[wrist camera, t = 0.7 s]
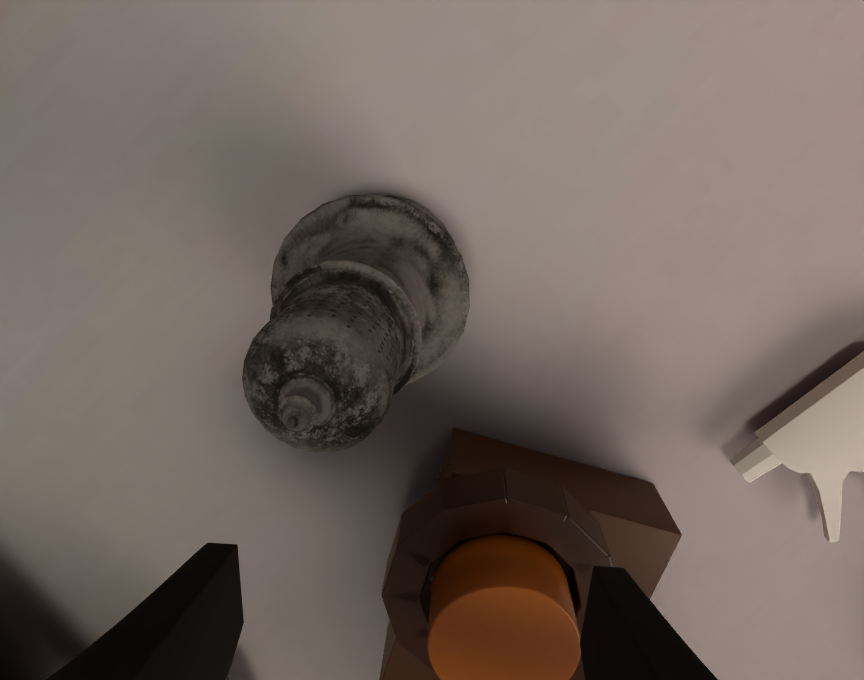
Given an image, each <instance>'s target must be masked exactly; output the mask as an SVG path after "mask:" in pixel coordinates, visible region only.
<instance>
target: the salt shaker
mask: <svg viewBox="0 0 864 680" xmlns="http://www.w3.org/2000/svg"><path fill="white" fill-rule="evenodd" d="M271 294H272V302H273V307H272V309H271V315H270V321H269V322H268V323H267V324H266V325H265V326H264V327H263V328H262V329H261V330H260V331H259V333H258V334H257V335H256V336H255V337H254V338H253V341H252V343H251V345H250V348H249V350H248V352H247V354H246V357H245V360H244V367H243V376H242V381H243V387H244V393H245V397H246V400H247V402H248V404H249V406H250V408H251V411H252V413H253V414H254V416H255V417H256V418H257V419H258V421H259V422H260V423H261V425H262V426H263V427H264V428H265V429H266V430H267V431H269V432H270V433H271V434H272V435H274V436H275V437H276V438H277V439H279V440H280V441H283V442H285V443H287V444H289V445H291V446H293V447H295V448H298V449H302V450H307V451H311V452H334V451H338V450H342V449H346V448H349V447H351V446H353V445H355V444H357V443H358V442H360V441H362V440H364V439H365V438H366V437H367V436H368V435H369V434H370V433H371V432H372V431H373V430H374V429H375V428H376V427H377V426H378V425H379V424H380V423H381V421H382V419H383V417H384V415H385V413H386V411H387V410H388V408H389V405H390V401H391V397H392V396H393V395H394V394H396V393H397V392H398V391H399V390H400V389H401V388H402V387H403V386H404V385H405V384H408V383H412V382H414V381H416V380H418V379H419V378H421V377H423V376H425V375H426V374H428V373H430V372H432V371H433V370H435V369H436V368H437V367H438V366H439V365H440V364H441V363H442V362H443V361H444V360H445V359H446V358H447V357H448V356H449V355H450V354H451V352H452V351H453V349H454V347H455V345H456V344H457V342H458V340H459V338H460V336H461V335H462V333H463V331H464V327H465V323H466V319H467V315H468V311H469V307H470V304H469V279H468V276H467V272H466V269H465V266H464V262H463V259H462V256H461V254H460V252H459V251H458V249H457V247H456V246H455V244H454V241H453V239H452V237H451V236H450V234H449V233H448V231H447V229H446V228H445V226H444V225H443V223H442V222H441V221H439V220H438V219H437V218H436V217H435V216H434V215H433V214H432V213H431V212H430V211H429V210H428V209H426V208H424V207H422V206H420V205H418V204H416V203H414V202H413V201H411V200H408V199H403V198H399V197H395V196H390V195H386V196H381V195H376V194H375V195H350V196H346V197H343V198H340V199H337V200H334V201H331V202H328V203H325V204H322V205H321V206H319V207H318V208H316V209H315V210H313V211H312V212H310V213H309V214H307V215H306V216H304V217H303V218H302V219H300V221H299V222H298V223H297V224H296V225H295V227H294V228H293V229H292V230H291V231H290V233H289V234H288V235H287V236H286V237H285V239H284V241H283V243H282V245H281V248H280V250H279V252H278V254H277V257H276V259H275V261H274V267H273V274H272V281H271Z"/></svg>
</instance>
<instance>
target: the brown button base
mask: <svg viewBox="0 0 864 680" xmlns="http://www.w3.org/2000/svg"><path fill="white" fill-rule="evenodd" d="M487 535H512V536H517V537H521V538H524V539H527V540H530V541H532V542H534V543H536V544H538V545H540V546H541V547H543V548H544V549H546V550H547V551H548V552H549V553H550V554H552V555H553V557H554V558H555V559H556V560H557V561H558V562H559V564H560V565H561V567H562V569H563V571H564V573H565V575H566V579H567V582H568V586H569V590H570V595H571V599H572V603H573V607H574V612H575V616H576V620H577V624H578V628H579V633H580V637H581V633H582V627H583V621H584V616H585V610H586V605H587V599H588V593H589V588H590V582H591V577H592V571H593V566H605V567H622V568H625V570H626V571H627V572H628V573H629V574H630V576H631V577H632V578H633V579H634V581H635V582H636V583H637V584H638V586H639V587H640V588H641V589H642V591H643V592H644V593H645V594H646V596H647V597H648V598H649V599H650V598H651V596H652V594H653V592H654V590H655V588H656V586H657V584H658V582H659V580H660V578H661V576H662V574H663V572H664V570H665V568H666V566H667V564H668V562H669V560H670V558H671V556H672V554H673V552H674V550H675V548H676V546H677V544H678V542H679V540H680V538H681V536H682V534H681V532H680V531H679V529H678V527H677V525H676V523H675V522H674V520H673V518H672V516H671V515H670V513H669V511H668V509H667V507H666V506H665V504H664V502H663V500H662V498H661V497H660V495H659V493H658V491H657V489H656V488H655V486H654V484H652V483H648V482H645V481H641V480H638V479H634V478H631V477H627V476H624V475H620V474H616V473H613V472H609V471H606V470H602V469H599V468H595V467H592V466H588V465H585V464H581V463H577V462H574V461H570V460H567V459H563V458H560V457H556V456H553V455H549V454H545V453H542V452H538V451H535V450H531V449H528V448H524V447H521V446H517V445H514V444H510V443H506V442H503V441H499V440H496V439H492V438H489V437H485V436H482V435H478V434H474V433H471V432H467V431H464V430H460V429H457V428H454V429H453V431H452V434H451V437H450V440H449V443H448V447H447V450H446V453H445V456H444V459H443V462H442V465H441V468H440V471H439V474H438V477H437V480H436V483H435V486H434V488H433V489H431V490H430V491H429V492H428V493H426V494H425V495H424V496H423V497H422V498H420V499H419V500H418V501H417V502H415V503H414V504H413V505H412V506H411V507H409V508H408V509H407V510H406V511H404V512H403V514H402V516H401V519H400V522H399V525H398V528H397V532H396V535H395V538H394V541H393V544H392V547H391V551H390V554H389V557H388V561H387V567H386V572H385V578H384V583H383V589H382V598H383V601H384V604H385V607H386V610H387V613H388V616H389V619H390V622H389V625H388V628H387V635H386V641H385V648H384V654H383V660H382V667H381V673H380V679H379V680H441V679H440V678H439V677H438V676H437V674H436V672H435V671H434V669H433V667H432V665H431V662H430V660H429V655H428V649H427V640H428V626H429V612H430V598H431V586H432V580H433V576H434V573H435V571H436V569H437V567H438V566H439V564H440V562H441V561H442V560H443V559H444V558H445V556H446V555H447V554H448V553H449V552H451V551H452V550H453V549H454V548H456V547H457V546H459V545H460V544H462V543H464V542H466V541H469V540H471V539H474V538H477V537H482V536H487ZM569 680H585V675H584V669H583V662H582V656H581V655H580V660H579V663H578V665H577V668H576V670H575V672H574V674H573V675H572V677H571V678H570V679H569Z"/></svg>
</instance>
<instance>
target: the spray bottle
mask: <svg viewBox="0 0 864 680" xmlns="http://www.w3.org/2000/svg"><path fill="white" fill-rule="evenodd" d="M754 434H755V435H756V436H757V438H758V439H756V440H755V441H754V442H752V443H751V444H750V445H749V446H747V447H746V448H745V449H743V450H742V451H741V452H739V453H738V454H737V455H735V456H734V457H733V458H731V459H730V460H729V461H730V462H731V463H732V464H733V466H734V467H735V468H736V469H737V470H738V471H739V472H740V474H741V475H742V476H743V477H744V478H745V479H746V481H747V482H748V483H750V482H752V481H754V480H755V479H757V478H759V477H760V476H762V475H764V474H765V473H767V472H769V471H770V470H772V469H774V468H775V467H777V466H779V465H780V464H782V463H783V464H784V465H785V466H786V467H787V468H788V469H790V470H792V471H795V472H797V473H804V474H805V475H806V477H807V479H808V480H809V482H810V484H811V487H812V490H813V493H814V496H815V499H816V501H817V504H818V507H819V510H820V513H821V516H822V522H823V529H824V536H825V537H826V538H827V540H828V541H829V542H830V543H831V542H839V532H840V522H841V503H842V482H843V481H844V479H845V478H846V476H847V475H848V473H849V472H850V471H856V472H864V351H863V352H862V353H860V354H859V355H858V356H856V357H855V358H854V359H852V360H851V361H850V362H848V363H847V364H846V365H844V366H843V367H842V368H840V369H839V370H838V371H836V372H835V373H834V374H832V375H831V376H830V377H828V378H827V379H826V380H824V381H823V382H822V383H820V384H819V385H818V386H816V387H815V388H813V389H812V390H811V391H809V392H808V393H807V394H805V395H804V396H803V397H801V398H800V399H799V400H797V401H796V402H795V403H793V404H792V405H791V406H789V407H788V408H787V409H785V410H784V411H783V412H781V413H780V414H779V415H777V416H776V417H775V418H773V419H772V420H771V421H769V422H768V423H767V424H765V425H764V426H763V427H761V428H760V429H759V430H757V431H756V432H755V433H754Z"/></svg>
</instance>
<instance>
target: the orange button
mask: <svg viewBox="0 0 864 680" xmlns="http://www.w3.org/2000/svg"><path fill="white" fill-rule="evenodd" d="M580 638H581V637H580V633H579V628H578V624H577V620H576V616H575V612H574V607H573V603H572V599H571V595H570V590H569V586H568V582H567V579H566V575H565V573H564V571H563V569H562V567H561V565H560V564H559V562H558V561H557V560H556V559H555V558H554V557H553V555H552V554H550V553H549V552H548V551H547V550H546V549H544V548H543V547H541V546H540V545H538V544H536V543H534V542H532V541H530V540H527V539H524V538H521V537H517V536H512V535H487V536H482V537H477V538H474V539H471V540H469V541H466V542H464V543H462V544H460V545H459V546H457V547H456V548H454V549H453V550H452V551H451V552H449V553H448V554H447V555H446V556H445V558H444V559H443V560H442V561H441V562H440V564H439V566H438V567H437V569H436V571H435V573H434V576H433V580H432V586H431V598H430V612H429V626H428V640H427V649H428V655H429V660H430V662H431V665H432V667H433V669H434V671H435V672H436V674H437V676H438V677H439V678H440V679H441V680H569V679H570V678H571V677H572V675H573V674H574V672H575V670H576V668H577V665H578V663H579V660H580V655H581V649H580Z"/></svg>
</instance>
